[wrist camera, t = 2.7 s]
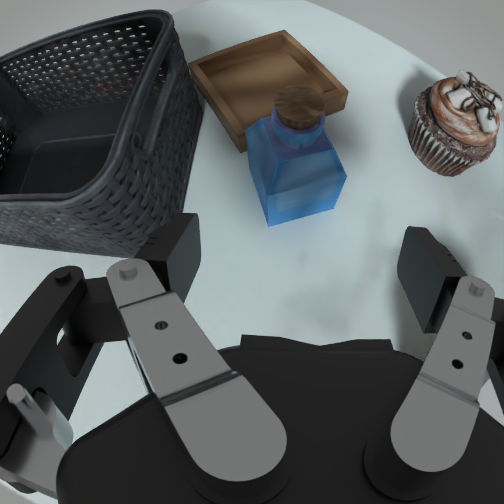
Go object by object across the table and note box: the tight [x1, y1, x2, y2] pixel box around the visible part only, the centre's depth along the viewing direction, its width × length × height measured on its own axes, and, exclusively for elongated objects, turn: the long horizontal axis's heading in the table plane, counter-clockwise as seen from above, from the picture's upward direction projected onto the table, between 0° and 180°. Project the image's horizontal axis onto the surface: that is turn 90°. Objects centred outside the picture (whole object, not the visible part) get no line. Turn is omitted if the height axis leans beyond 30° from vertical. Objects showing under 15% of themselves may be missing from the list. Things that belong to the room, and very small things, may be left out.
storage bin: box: [0, 10, 202, 259], centre depth 26 cm, size 29×19×13 cm
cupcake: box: [409, 70, 503, 177], centre depth 26 cm, size 10×10×10 cm
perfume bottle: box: [245, 85, 347, 227], centre depth 24 cm, size 6×6×12 cm
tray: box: [188, 30, 349, 153], centre depth 32 cm, size 13×13×3 cm
